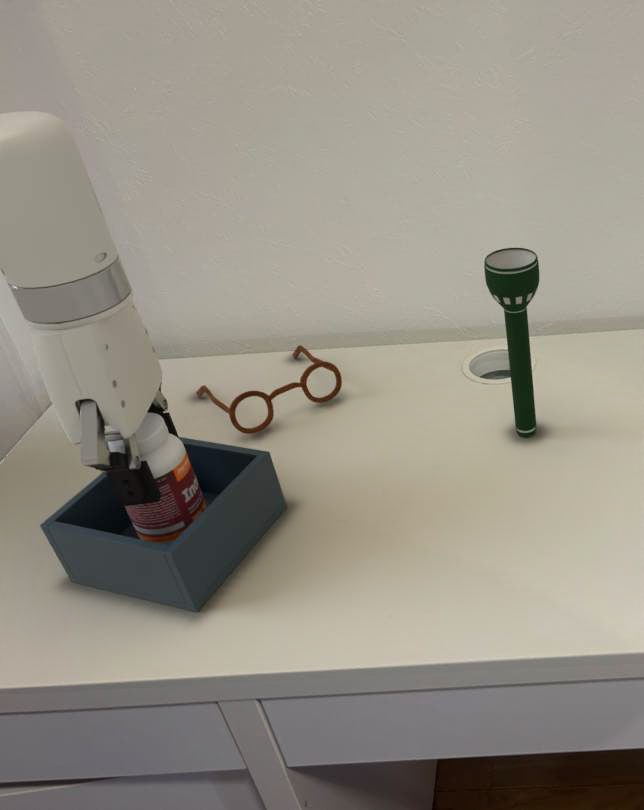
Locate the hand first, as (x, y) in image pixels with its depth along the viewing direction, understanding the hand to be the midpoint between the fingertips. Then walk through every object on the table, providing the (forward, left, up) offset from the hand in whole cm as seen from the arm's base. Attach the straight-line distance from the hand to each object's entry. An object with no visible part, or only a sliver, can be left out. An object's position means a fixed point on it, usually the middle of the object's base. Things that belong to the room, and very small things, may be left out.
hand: (153, 474), depth 69 cm
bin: (0, 0, -8) cm, 8 cm away
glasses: (-14, +20, -8) cm, 26 cm away
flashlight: (+16, +31, -8) cm, 36 cm away
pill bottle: (0, 0, -6) cm, 6 cm away
